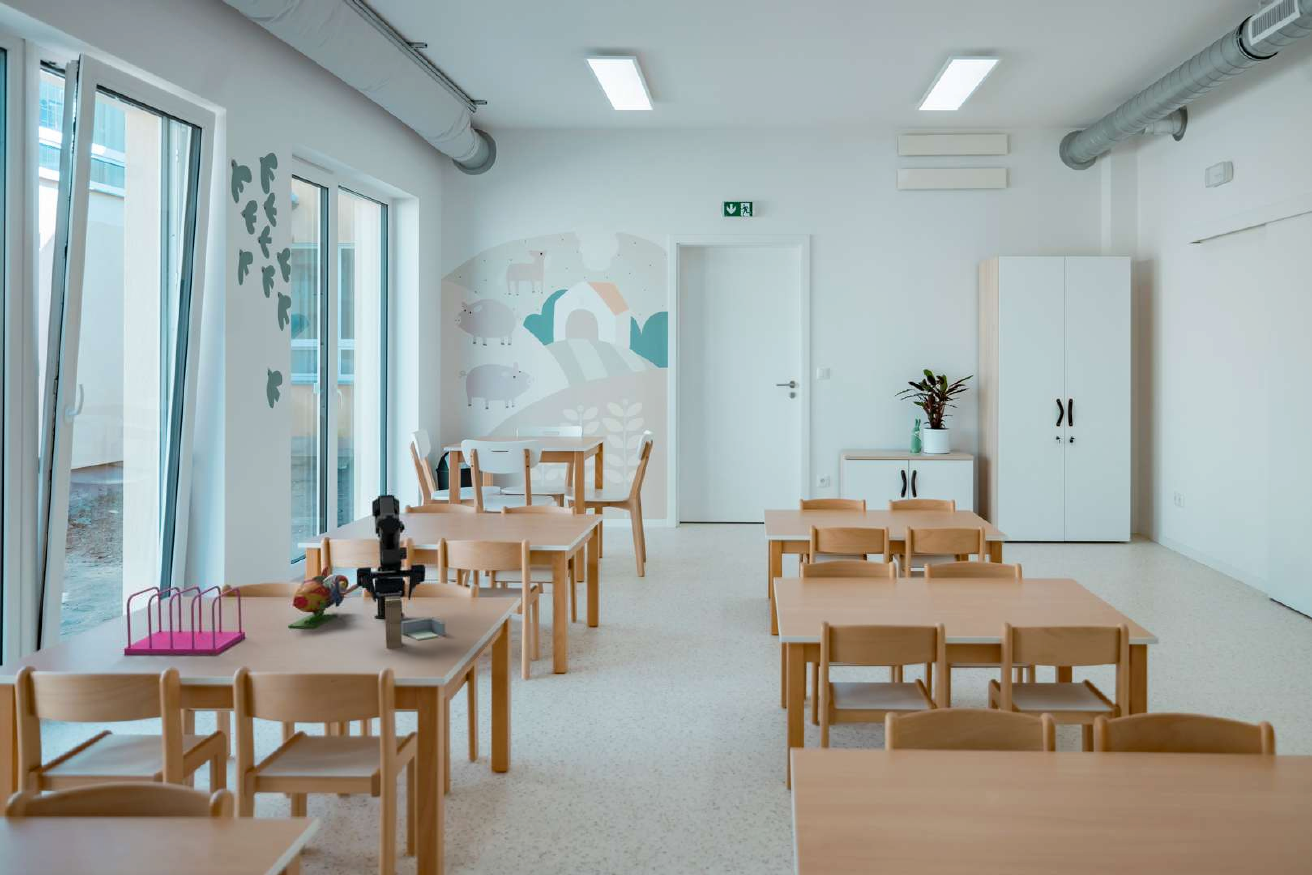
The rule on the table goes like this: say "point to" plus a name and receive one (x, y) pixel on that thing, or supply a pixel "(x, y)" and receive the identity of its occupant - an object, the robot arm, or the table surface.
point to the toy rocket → (318, 599)
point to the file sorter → (184, 639)
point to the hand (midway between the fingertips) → (392, 600)
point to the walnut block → (393, 621)
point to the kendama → (343, 581)
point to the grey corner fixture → (423, 628)
